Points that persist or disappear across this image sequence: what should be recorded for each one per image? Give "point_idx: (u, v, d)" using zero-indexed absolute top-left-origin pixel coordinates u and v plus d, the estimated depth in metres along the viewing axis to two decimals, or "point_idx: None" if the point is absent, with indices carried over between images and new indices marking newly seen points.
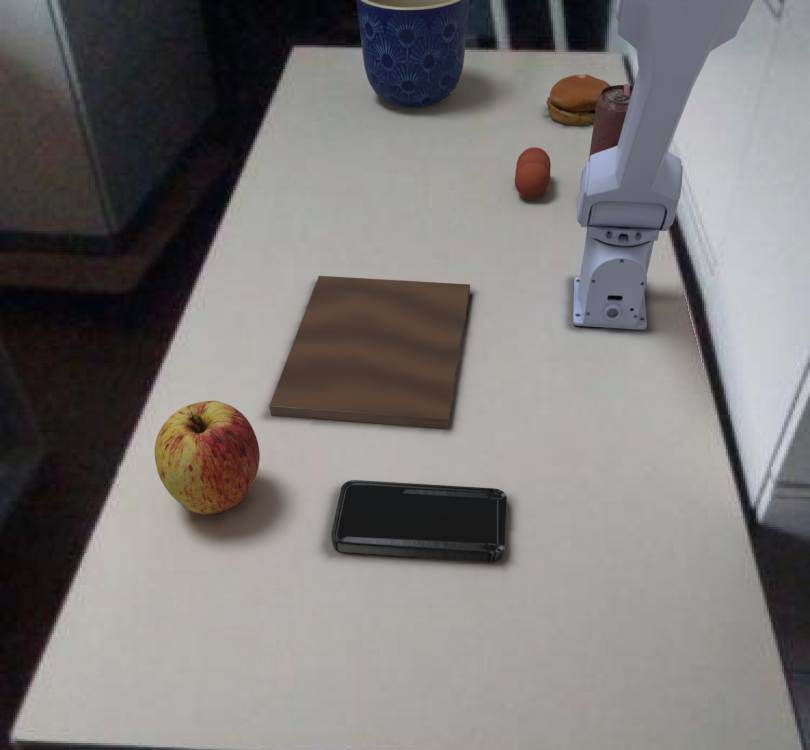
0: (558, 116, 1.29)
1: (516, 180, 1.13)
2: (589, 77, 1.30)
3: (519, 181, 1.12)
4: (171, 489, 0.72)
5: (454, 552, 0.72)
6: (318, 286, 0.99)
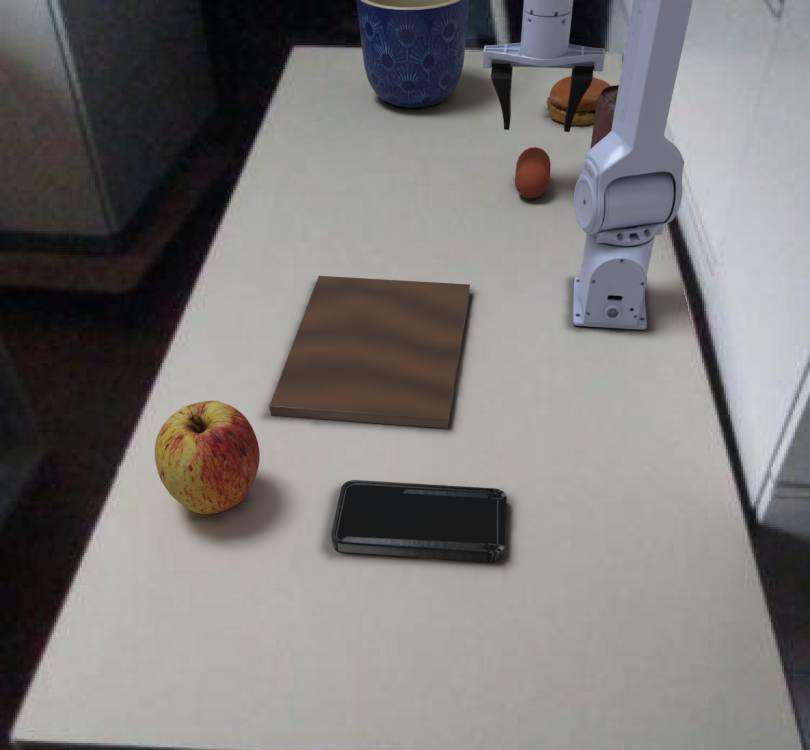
0: (558, 116, 1.29)
1: (516, 180, 1.13)
2: None
3: (519, 181, 1.12)
4: (171, 489, 0.72)
5: (454, 552, 0.72)
6: (318, 286, 0.99)
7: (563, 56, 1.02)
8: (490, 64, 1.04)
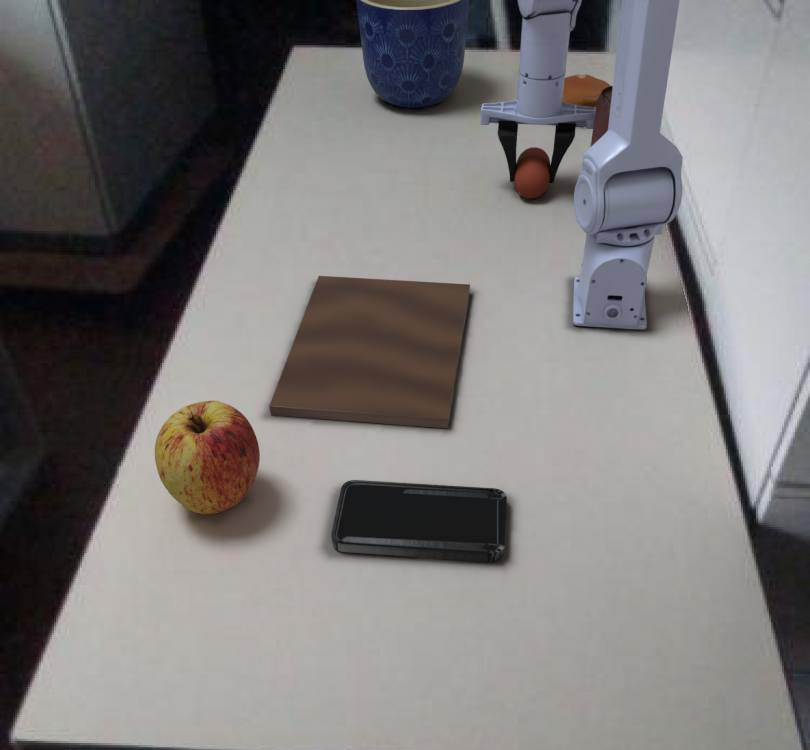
0: None
1: (516, 180, 1.13)
2: (589, 77, 1.30)
3: (519, 181, 1.12)
4: (171, 489, 0.72)
5: (454, 552, 0.72)
6: (318, 286, 0.99)
7: (557, 115, 1.07)
8: (487, 121, 1.09)
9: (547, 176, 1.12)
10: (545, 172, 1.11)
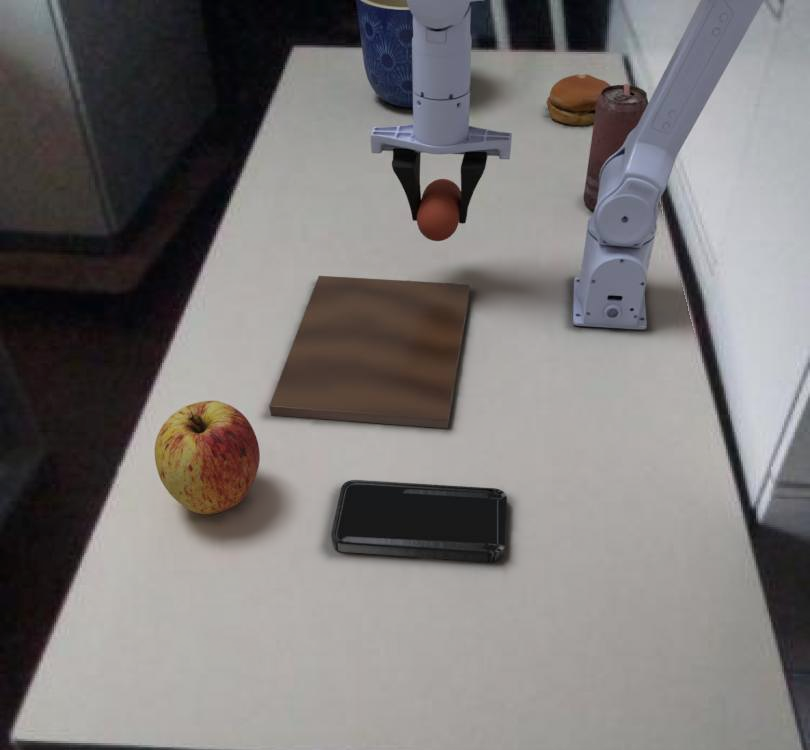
0: (558, 116, 1.29)
1: (418, 219, 0.92)
2: (589, 77, 1.30)
3: (421, 221, 0.92)
4: (171, 489, 0.72)
5: (454, 552, 0.72)
6: (318, 286, 0.99)
7: (461, 143, 0.87)
8: (379, 149, 0.89)
9: (455, 215, 0.92)
10: (452, 210, 0.91)
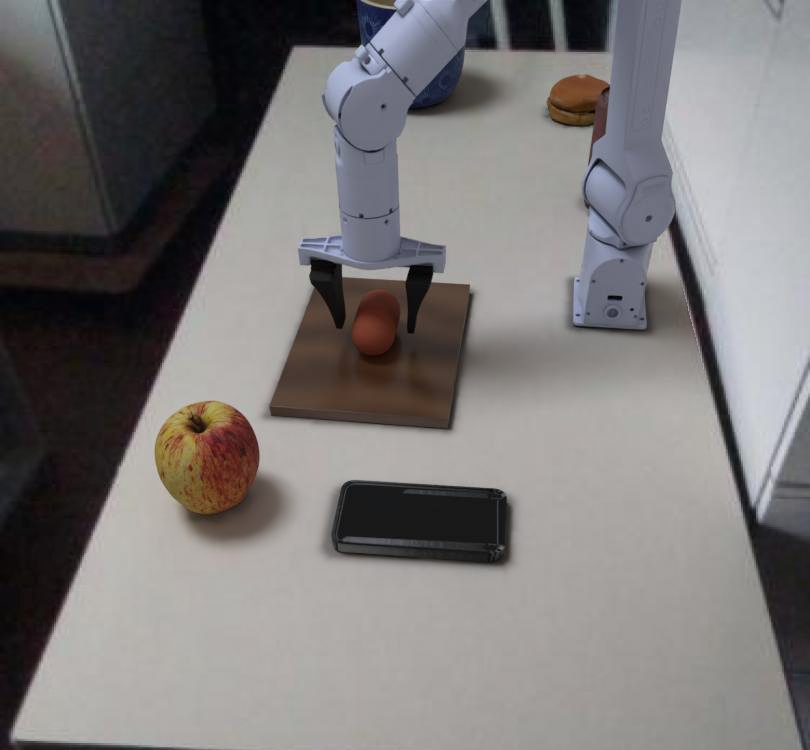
0: (558, 116, 1.29)
1: (352, 334, 0.89)
2: (589, 77, 1.30)
3: (355, 337, 0.88)
4: (170, 489, 0.72)
5: (454, 552, 0.72)
6: None
7: (392, 258, 0.82)
8: (308, 261, 0.85)
9: (390, 332, 0.88)
10: (387, 327, 0.88)
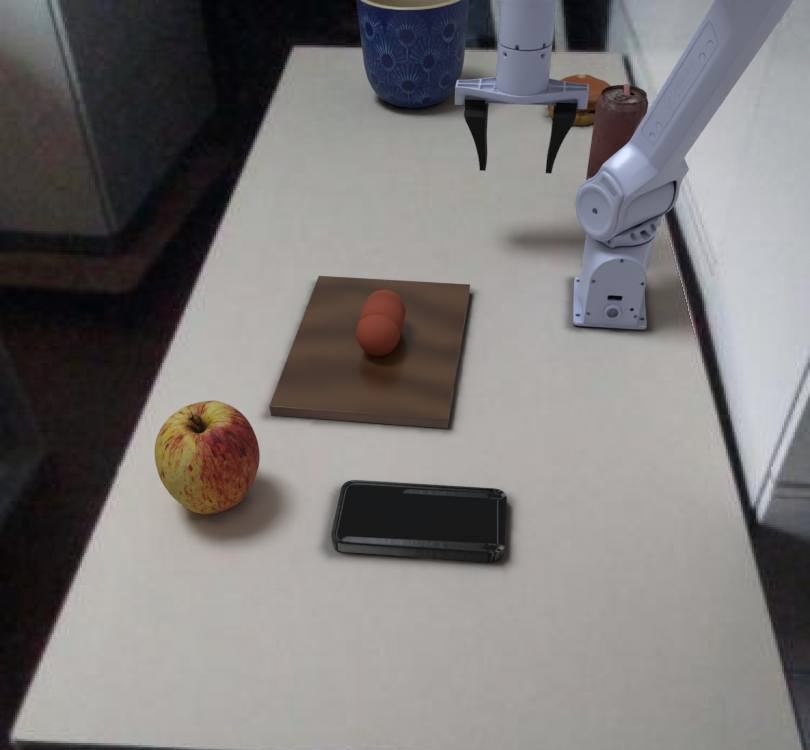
0: None
1: (358, 331, 0.88)
2: (589, 77, 1.30)
3: (361, 334, 0.88)
4: (170, 489, 0.72)
5: (454, 552, 0.72)
6: (318, 286, 0.99)
7: (543, 93, 0.92)
8: (463, 101, 0.94)
9: (397, 336, 0.88)
10: (395, 331, 0.88)
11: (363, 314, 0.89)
